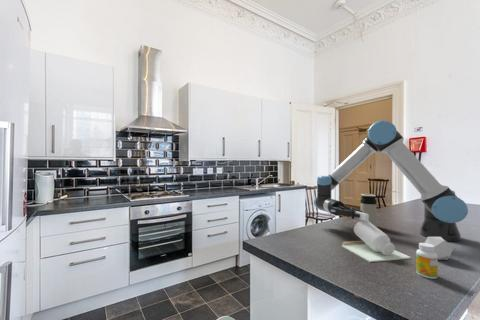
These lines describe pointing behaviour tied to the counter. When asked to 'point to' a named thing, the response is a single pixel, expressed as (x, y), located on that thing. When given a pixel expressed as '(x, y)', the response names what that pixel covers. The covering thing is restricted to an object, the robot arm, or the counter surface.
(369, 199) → the travel mug
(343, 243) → the stop strip
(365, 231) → the pill bottle
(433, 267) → the supplement bottle
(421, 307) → the counter surface
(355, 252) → the mat
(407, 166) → the robot arm
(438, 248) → the die
